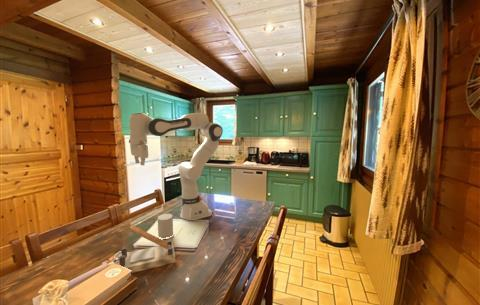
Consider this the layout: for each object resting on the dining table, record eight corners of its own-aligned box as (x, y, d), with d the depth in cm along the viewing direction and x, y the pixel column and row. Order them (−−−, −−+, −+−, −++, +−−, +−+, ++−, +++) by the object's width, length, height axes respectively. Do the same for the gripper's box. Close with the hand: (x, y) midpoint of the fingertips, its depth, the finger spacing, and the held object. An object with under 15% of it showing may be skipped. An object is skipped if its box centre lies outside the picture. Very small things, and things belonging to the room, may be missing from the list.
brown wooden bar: (169, 247, 99) (171, 244, 99) (170, 251, 96) (172, 248, 96) (130, 227, 91) (133, 224, 91) (129, 231, 87) (132, 228, 88)
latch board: (173, 248, 104) (172, 235, 103) (175, 262, 93) (175, 248, 92) (120, 259, 95) (120, 246, 94) (116, 276, 84) (115, 261, 83)
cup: (176, 234, 118) (175, 215, 117) (166, 241, 110) (166, 220, 109) (164, 231, 121) (164, 213, 119) (155, 238, 113) (154, 218, 112)
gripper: (150, 141, 110) (151, 166, 111) (139, 140, 124) (140, 161, 126) (138, 141, 105) (139, 167, 107) (128, 140, 120) (129, 162, 121)
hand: (139, 164), depth 116 cm, fingers open, 8 cm apart
